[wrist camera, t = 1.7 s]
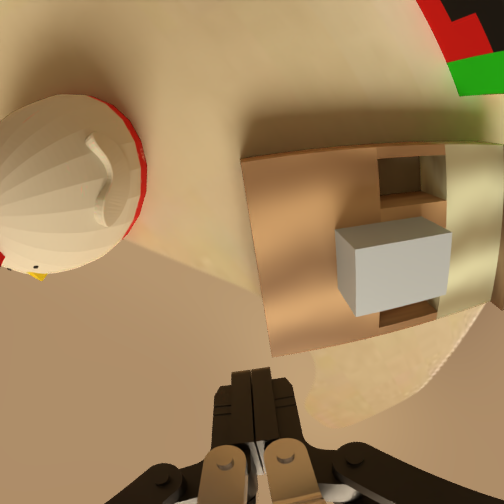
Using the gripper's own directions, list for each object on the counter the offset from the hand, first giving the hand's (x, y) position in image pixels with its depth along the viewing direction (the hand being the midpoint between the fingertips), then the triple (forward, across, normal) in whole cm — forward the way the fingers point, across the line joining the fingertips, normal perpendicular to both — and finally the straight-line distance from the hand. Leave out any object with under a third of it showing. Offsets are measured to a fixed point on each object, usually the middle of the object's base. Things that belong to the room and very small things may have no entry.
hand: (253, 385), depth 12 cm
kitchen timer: (+15, +13, -9) cm, 22 cm away
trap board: (+15, -12, 0) cm, 19 cm away
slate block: (+10, -10, 0) cm, 14 cm away
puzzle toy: (+15, -25, -18) cm, 34 cm away
